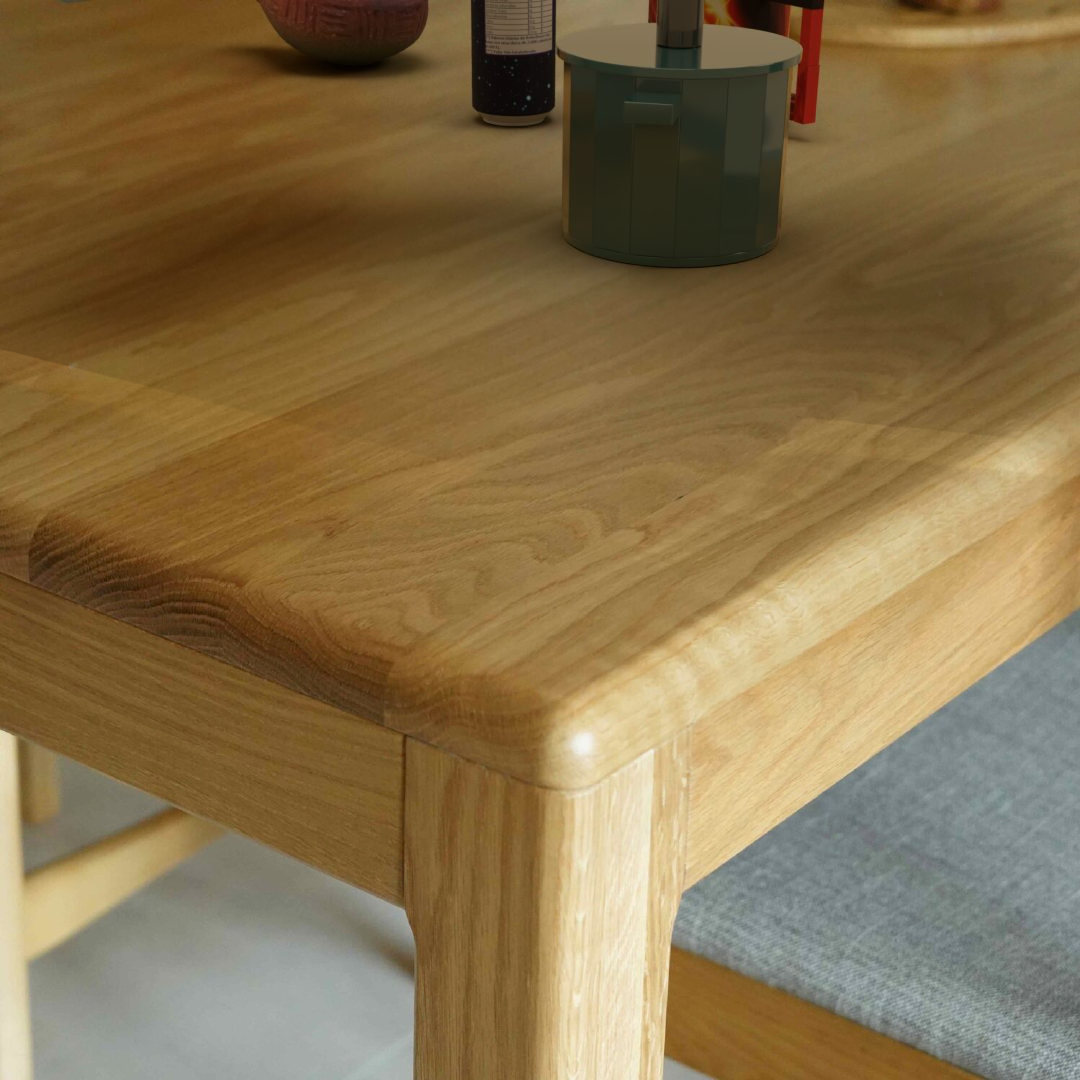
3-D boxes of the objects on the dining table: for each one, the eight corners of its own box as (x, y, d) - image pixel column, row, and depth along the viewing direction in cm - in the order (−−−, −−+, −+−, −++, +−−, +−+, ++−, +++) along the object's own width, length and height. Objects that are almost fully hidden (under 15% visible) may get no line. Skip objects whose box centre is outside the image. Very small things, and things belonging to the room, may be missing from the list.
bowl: (435, 47, 135) (432, -55, 132) (424, 80, 124) (421, -31, 120) (240, 46, 135) (232, -56, 132) (211, 78, 124) (202, -33, 120)
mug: (808, 143, 107) (824, -51, 102) (620, 118, 113) (626, -67, 108) (860, 115, 115) (878, -67, 109) (680, 92, 121) (689, -81, 115)
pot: (794, 200, 95) (807, 31, 91) (758, 292, 80) (772, 95, 76) (598, 186, 97) (601, 21, 93) (528, 273, 83) (528, 81, 78)
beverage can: (569, 116, 114) (572, -68, 108) (527, 132, 109) (528, -58, 104) (500, 106, 116) (499, -74, 111) (456, 122, 112) (453, -65, 106)
